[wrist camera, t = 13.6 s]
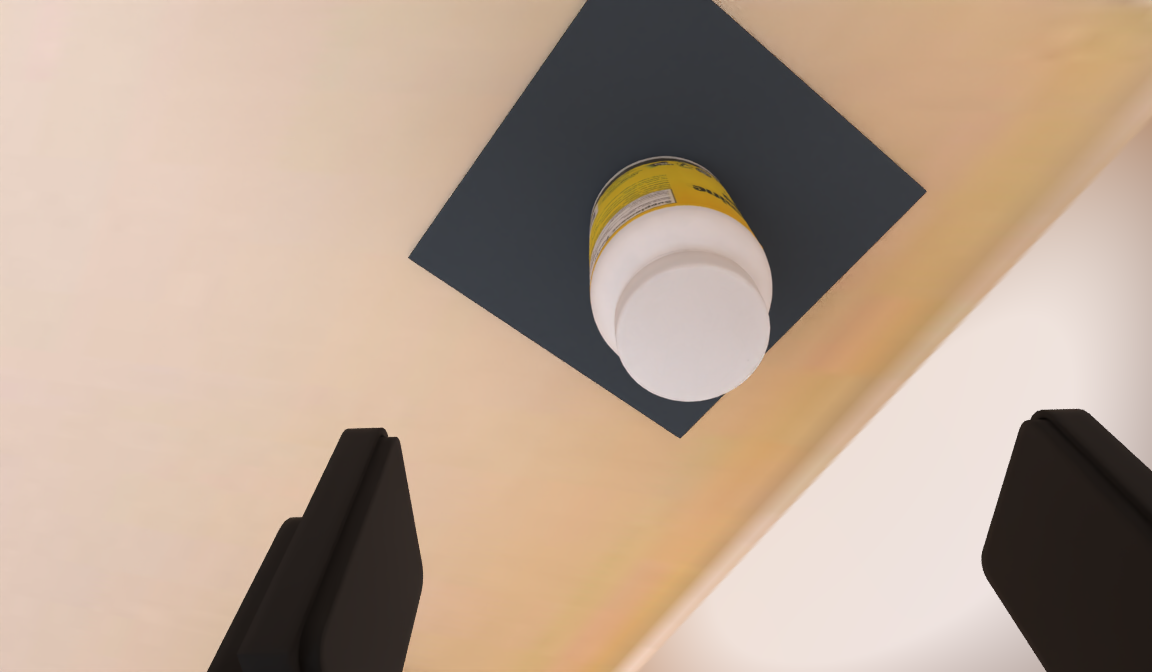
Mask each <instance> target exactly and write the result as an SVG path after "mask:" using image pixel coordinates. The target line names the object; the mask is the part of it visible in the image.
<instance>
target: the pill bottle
mask: <svg viewBox="0 0 1152 672" xmlns="http://www.w3.org/2000/svg"><path fill="white" fill-rule="evenodd" d="M589 265H590V301H591V307H592V312H593V316H594V320H595V322H596V325H597V327H598V329H599V332H600V333H601V335H602V337H603V339H604V340H605V341H606V343H607V344H608V345H609V346H610V348H611V349H612V350H613V351H614V352H615V353H616V354H617V355H618V356H619V357H620V360H621V362H622V364H623V366H624V367H625V369H626V370H627V372H628V373H629V374H630V376H631V377H632V378H633V379H634V380H635V381H636V382H637V383H638V384H639V385H641V386H642V387H643V388H645V389H646V390H648V391H650V392H651V393H653V394H655V395H658V396H660V397H664V398H667V399H670V400H676V401H685V402H691V401H702V400H707V399H711V398H715V397H718V396H720V395H723V394H725V393H727V392H729V391H731V390H733V389H734V388H736V387H738V386H739V385H740V384H742V383H743V382H744V381H745V380H746V379H747V378H748V377H749V376H750V375H751V374H752V373H753V372H754V371H755V369H756V368H757V367H758V365H759V364H760V362H761V361H762V359H763V357H764V354H765V352H766V349H767V346H768V342H769V335H770V321H769V315H768V313H769V309H770V305H771V300H772V277H771V271H770V267H769V264H768V260H767V258H766V254H765V252H764V250H763V247H762V246H761V245H760V243H759V242H758V240H757V239H756V237H755V235H754V234H753V232H752V231H751V229H750V228H749V226H748V224H747V223H746V221H745V220H744V218H743V216H742V215H741V214H740V212H739V210H738V209H737V207H736V206H735V204H734V202H733V201H732V199H731V197H730V196H729V194H728V193H727V191H726V190H725V188H724V187H723V185H722V184H721V183H720V182H719V181H718V179H717V178H716V177H715V176H714V175H713V174H712V173H711V172H709V171H708V170H707V169H705V168H704V167H702V166H700V165H699V164H697V163H695V162H692V161H690V160H687V159H683V158H679V157H672V156H658V157H652V158H647V159H643V160H640V161H637V162H635V163H633V164H631V165H629V166H627V167H625V168H623V169H622V170H620V171H619V172H618V173H617V174H615V175H614V176H613V177H612V178H611V179H610V180H609V181H608V182H607V183H606V185H605V186H604V187H603V189H602V190H601V192H600V193H599V195H598V197H597V199H596V201H595V204H594V207H593V210H592V214H591V219H590V234H589Z"/></svg>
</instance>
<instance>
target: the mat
mask: <svg viewBox="0 0 1152 672" xmlns="http://www.w3.org/2000/svg"><path fill="white" fill-rule="evenodd" d="M658 156H672V157H679V158H683V159H687V160H690V161H692V162H695V163H697V164H699V165H700V166H702V167H704V168H705V169H707V170H708V171H709V172H711V173H712V174H713V175H714V176H715V177H716V178H717V179H718V181H719V182H720V183H721V184H722V185H723V187H724V188H725V190H726V191H727V193H728V194H729V196H730V197H731V199H732V201H733V202H734V204H735V206H736V207H737V209H738V210H739V212H740V214H741V215H742V216H743V218H744V220H745V221H746V223H747V224H748V226H749V228H750V229H751V231H752V232H753V234H754V235H755V237H756V239H757V240H758V242H759V243H760V245H761V246H762V247H763V250H764V252H765V254H766V258H767V260H768V264H769V267H770V271H771V277H772V300H771V305H770V309H769V313H768V315H769V321H770V335H769V342H768V346H767V349H766V352H767V351H768V350H769V349H770V348H771V347H772V346H773V345H774V344H775V343H776V342H777V341H778V340H779V339H780V338H781V337H782V336H783V335H784V334H785V333H786V332H787V331H788V330H789V329H790V328H791V327H792V326H793V325H794V324H795V323H796V322H797V321H798V320H799V319H800V318H801V317H802V316H803V315H804V314H805V313H806V312H807V311H808V310H809V309H810V308H811V307H812V306H813V305H814V304H815V303H816V302H817V301H818V300H819V299H820V298H821V297H822V296H823V295H824V294H825V293H826V292H827V291H828V290H829V289H830V288H831V287H832V286H833V285H834V284H835V283H836V282H837V281H838V280H839V279H840V278H841V277H842V276H843V275H844V274H845V273H846V272H847V271H848V270H849V269H850V268H851V267H852V266H853V265H854V264H855V263H856V262H857V261H858V260H859V259H860V258H861V257H862V256H863V255H864V254H865V253H866V252H867V251H868V250H869V249H870V248H871V247H872V246H873V245H874V244H875V243H876V242H877V241H878V240H879V239H880V238H881V237H882V236H883V235H884V234H885V233H886V232H887V231H888V230H889V229H890V228H891V227H892V226H893V225H894V224H895V223H896V222H897V221H898V220H899V219H900V218H901V217H902V216H903V215H904V214H905V213H906V212H907V211H908V210H909V209H910V208H911V207H912V206H913V205H914V204H915V203H916V202H917V201H918V200H919V199H920V198H921V197H922V196H923V195H924V194H925V193H926V192H927V191H926V190H925V189H924V188H923V187H921V186H920V185H919V184H918V183H917V182H916V181H915V180H913V179H912V178H911V177H910V176H909V175H908V174H907V173H906V172H904V171H903V170H902V169H901V168H900V167H899V166H898V165H897V164H895V163H894V162H893V161H892V160H891V159H890V158H889V157H888V156H886V155H885V154H884V153H883V152H882V151H881V150H880V149H879V148H877V147H876V146H875V145H874V144H873V143H872V142H871V141H870V140H868V139H867V138H866V137H865V136H864V135H863V134H862V133H861V132H859V131H858V130H857V129H856V128H855V127H854V126H853V125H852V124H850V123H849V122H848V121H847V120H846V119H845V118H844V117H843V116H841V115H840V114H839V113H838V112H837V111H836V110H835V109H834V108H832V107H831V106H830V105H829V104H828V103H827V102H826V101H824V100H823V99H822V98H821V97H820V96H819V95H818V94H817V93H815V92H814V91H813V90H812V89H811V88H810V87H809V86H808V85H806V84H805V83H804V82H803V81H802V80H801V79H800V78H799V77H797V76H796V75H795V74H794V73H793V72H792V71H791V70H790V69H788V68H787V67H786V66H785V65H784V64H783V63H782V62H781V61H779V60H778V59H777V58H776V57H775V56H774V55H773V54H772V53H770V52H769V51H768V50H767V49H766V48H765V47H764V46H763V45H761V44H760V43H759V42H758V41H757V40H756V39H755V38H754V37H752V36H751V35H750V34H749V33H748V32H747V31H746V30H744V29H743V28H742V27H741V26H740V25H739V24H738V23H737V22H735V21H734V20H733V19H732V18H731V17H730V16H729V15H728V14H726V13H725V12H724V11H723V10H722V9H721V8H720V7H719V6H717V5H716V4H715V3H714V2H713V1H712V0H587V2H586V3H585V5H584V6H583V7H582V9H581V10H580V12H579V13H578V15H577V16H576V17H575V19H574V20H573V22H572V23H571V25H570V26H569V28H568V29H567V30H566V32H565V33H564V35H563V36H562V38H561V39H560V40H559V42H558V43H557V45H556V46H555V48H554V49H553V51H552V52H551V53H550V55H549V56H548V58H547V59H546V61H545V62H544V63H543V65H542V66H541V68H540V69H539V71H538V72H537V73H536V75H535V76H534V78H533V79H532V81H531V82H530V84H529V85H528V86H527V88H526V89H525V91H524V92H523V94H522V95H521V96H520V98H519V99H518V101H517V102H516V104H515V105H514V106H513V108H512V109H511V111H510V112H509V114H508V115H507V117H506V118H505V119H504V121H503V122H502V124H501V125H500V127H499V128H498V129H497V131H496V132H495V134H494V135H493V137H492V138H491V139H490V141H489V142H488V144H487V145H486V147H485V148H484V150H483V151H482V152H481V154H480V155H479V157H478V158H477V160H476V161H475V162H474V164H473V165H472V167H471V168H470V170H469V171H468V172H467V174H466V175H465V177H464V178H463V180H462V181H461V183H460V184H459V185H458V187H457V188H456V190H455V191H454V193H453V194H452V195H451V197H450V198H449V200H448V201H447V203H446V204H445V205H444V207H443V208H442V210H441V211H440V213H439V214H438V216H437V217H436V218H435V220H434V221H433V223H432V224H431V226H430V227H429V228H428V230H427V231H426V233H425V234H424V236H423V237H422V238H421V240H420V241H419V243H418V244H417V246H416V247H415V249H414V250H413V251H412V253H411V254H410V256H409V257H408V258H409V259H411V260H412V261H414V262H415V263H417V264H418V265H420V266H421V267H423V268H424V269H426V270H427V271H429V272H430V273H432V274H433V275H435V276H436V277H438V278H439V279H441V280H442V281H444V282H445V283H447V284H448V285H450V286H451V287H453V288H454V289H456V290H457V291H459V292H460V293H462V294H463V295H465V296H466V297H468V298H469V299H471V300H472V301H474V302H475V303H477V304H478V305H480V306H481V307H483V308H484V309H486V310H487V311H489V312H490V313H492V314H493V315H495V316H496V317H498V318H499V319H501V320H502V321H504V322H505V323H507V324H508V325H510V326H511V327H513V328H514V329H516V330H517V331H519V332H520V333H522V334H523V335H525V336H526V337H528V338H529V339H531V340H532V341H534V342H536V343H537V344H539V345H540V346H542V347H543V348H545V349H546V350H548V351H549V352H551V353H552V354H554V355H555V356H557V357H558V358H560V359H561V360H563V361H564V362H566V363H567V364H569V365H570V366H572V367H573V368H575V369H576V370H578V371H579V372H581V373H582V374H584V375H585V376H587V377H588V378H590V379H591V380H593V381H594V382H596V383H597V384H599V385H600V386H602V387H603V388H605V389H606V390H608V391H609V392H611V393H612V394H614V395H615V396H617V397H618V398H620V399H621V400H623V401H624V402H626V403H627V404H629V405H630V406H632V407H633V408H635V409H636V410H638V411H639V412H641V413H642V414H644V415H645V416H647V417H648V418H650V419H651V420H653V421H654V422H656V423H657V424H659V425H660V426H662V427H663V428H665V429H666V430H668V431H669V432H671V433H672V434H674V435H675V436H677V437H678V438H681V437H682V436H683V435H684V434H685V433H686V432H687V431H688V430H689V429H690V428H691V427H692V426H693V425H694V424H695V423H696V422H697V421H698V420H699V419H700V418H701V417H702V416H703V415H704V414H705V413H706V412H707V411H708V410H709V409H710V408H711V407H712V406H713V405H714V404H715V403H716V402H717V401H718V400H719V399H720V398H721V397H722V396H723V395H724V394H723V395H720V396H718V397H715V398H711V399H707V400H702V401H691V402H685V401H676V400H670V399H667V398H664V397H660V396H658V395H655V394H653V393H651V392H650V391H648V390H646V389H645V388H643V387H642V386H641V385H639V384H638V383H637V382H636V381H635V380H634V379H633V378H632V377H631V376H630V374H629V373H628V372H627V370H626V369H625V367H624V366H623V364H622V362H621V360H620V357H619V356H618V355H617V354H616V353H615V352H614V351H613V350H612V349H611V348H610V346H609V345H608V344H607V343H606V341H605V340H604V339H603V337H602V335H601V333H600V332H599V329H598V327H597V325H596V322H595V320H594V316H593V312H592V307H591V301H590V265H589V234H590V219H591V214H592V210H593V207H594V204H595V201H596V199H597V197H598V195H599V193H600V192H601V190H602V189H603V187H604V186H605V185H606V183H607V182H608V181H609V180H610V179H611V178H612V177H613V176H614V175H615V174H617V173H618V172H619V171H620V170H622V169H623V168H625V167H627V166H629V165H631V164H633V163H635V162H637V161H640V160H643V159H647V158H652V157H658ZM766 352H765V353H766Z"/></svg>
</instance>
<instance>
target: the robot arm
mask: <svg viewBox="0 0 1152 672" xmlns="http://www.w3.org/2000/svg"><path fill="white" fill-rule="evenodd" d="M982 567H983V571H984V574H985V576H986V578H987V580H988V581H989V583H990V584H991V586H992V588H993V589H994V591H995V592H996V594H997V595H998V597H999V598H1000V600H1001V601H1002V603H1003V605H1004V606H1005V608H1006V609H1007V611H1008V612H1009V614H1010V615H1011V617H1012V619H1013V620H1014V622H1015V623H1016V625H1017V626H1018V628H1019V629H1020V631H1021V632H1022V634H1023V636H1024V637H1025V639H1026V640H1027V642H1028V643H1029V645H1030V647H1031V648H1032V650H1033V651H1034V653H1035V654H1036V656H1037V657H1038V659H1039V660H1040V662H1041V663H1042V665H1043V667H1044V668H1045V670H1046V671H1047V672H1152V471H1151V470H1150V469H1149V468H1148V467H1147V466H1145V464H1143V463H1142V462H1141V461H1140V460H1139V459H1138V458H1137V457H1136V456H1135V455H1133V453H1131V452H1130V451H1129V450H1128V449H1127V448H1126V447H1125V446H1124V445H1123V444H1122V443H1121V442H1120V441H1118V440H1117V439H1116V438H1115V437H1114V436H1113V435H1112V434H1111V433H1110V432H1108V431H1107V430H1106V429H1105V428H1104V427H1103V426H1102V425H1101V424H1100V423H1099V422H1098V421H1097V420H1095V418H1093V417H1092V416H1091V415H1090V414H1089V413H1087V412H1086V411H1084V410H1081V409H1059V410H1058V409H1057V410H1040V411H1037V412H1036V413H1035V414H1034V415H1033V416H1032V417H1031V420H1027V421H1024V422H1023V424H1022V425H1021V427H1020V429H1019V432H1018V436H1017V439H1016V442H1015V445H1014V449H1013V452H1012V456H1011V459H1010V462H1009V465H1008V468H1007V472H1006V475H1005V478H1004V482H1003V485H1002V488H1001V491H1000V495H999V498H998V502H997V505H996V508H995V512H994V515H993V518H992V521H991V524H990V528H989V531H988V534H987V538H986V541H985V545H984V547H983V551H982ZM422 584H423V567H422V561H421V555H420V550H419V544H418V539H417V533H416V528H415V522H414V516H413V511H412V505H411V500H410V494H409V489H408V483H407V478H406V472H405V466H404V461H403V455H402V450H401V445H400V441H399V439H398V438H397V437H388V435H387V432H386V430H385V429H384V428H357V429H346V430H345V431H344V432H343V433H342V435H341V437H340V439H339V442H338V444H337V446H336V448H335V450H334V452H333V454H332V456H331V458H330V460H329V462H328V465H327V467H326V469H325V471H324V473H323V475H322V477H321V479H320V481H319V483H318V485H317V487H316V490H315V492H314V494H313V496H312V498H311V500H310V502H309V504H308V506H307V508H306V510H305V513H304V515H303V517H293V518H289V519H288V520H286V521H285V522H284V523H283V525H282V526H281V528H280V529H279V531H278V533H277V535H276V537H275V539H274V541H273V543H272V545H271V547H270V549H269V551H268V553H267V555H266V557H265V559H264V561H263V563H262V565H261V567H260V569H259V570H258V572H257V574H256V576H255V578H254V580H253V582H252V584H251V586H250V588H249V590H248V592H247V594H246V596H245V598H244V600H243V602H242V604H241V606H240V608H239V610H238V612H237V614H236V616H235V618H234V620H233V622H232V624H231V626H230V628H229V630H228V631H227V633H226V635H225V637H224V639H223V641H222V643H221V645H220V647H219V649H218V651H217V653H216V655H215V657H214V659H213V661H212V663H211V665H210V667H209V669H208V671H207V672H402V670H403V666H404V662H405V658H406V654H407V649H408V645H409V641H410V637H411V633H412V629H413V625H414V620H415V616H416V612H417V608H418V604H419V600H420V595H421V591H422Z"/></svg>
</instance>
